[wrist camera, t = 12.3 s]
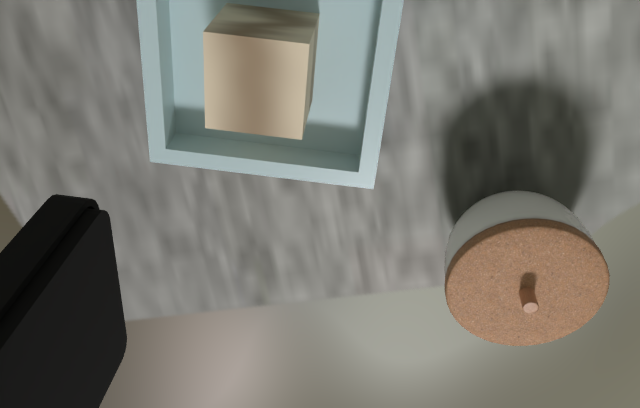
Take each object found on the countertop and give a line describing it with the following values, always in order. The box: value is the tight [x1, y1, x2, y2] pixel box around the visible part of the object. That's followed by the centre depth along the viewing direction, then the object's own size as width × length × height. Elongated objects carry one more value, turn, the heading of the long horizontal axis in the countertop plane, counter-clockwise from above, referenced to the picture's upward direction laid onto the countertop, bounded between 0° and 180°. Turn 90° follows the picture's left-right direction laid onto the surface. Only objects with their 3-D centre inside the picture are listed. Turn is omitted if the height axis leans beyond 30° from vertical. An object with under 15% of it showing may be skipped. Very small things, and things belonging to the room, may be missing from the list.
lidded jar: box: [445, 190, 609, 346], centre depth 43 cm, size 11×11×9 cm
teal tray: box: [136, 0, 404, 189], centre depth 39 cm, size 16×16×4 cm
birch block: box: [203, 3, 320, 140], centre depth 37 cm, size 6×6×6 cm
